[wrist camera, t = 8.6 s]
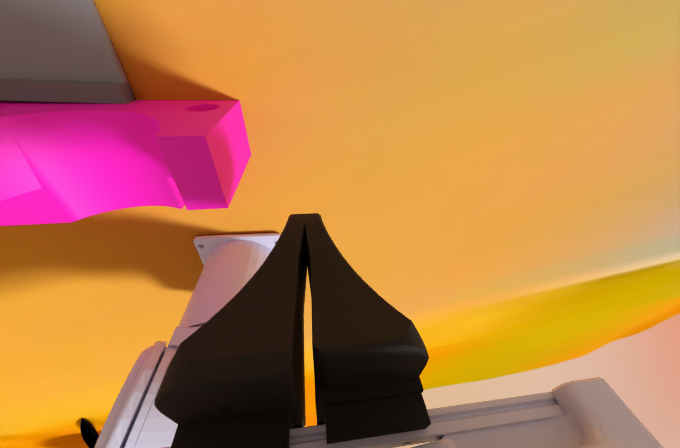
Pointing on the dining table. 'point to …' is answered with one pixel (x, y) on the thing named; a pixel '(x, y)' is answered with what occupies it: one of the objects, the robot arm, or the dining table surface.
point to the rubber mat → (58, 54)
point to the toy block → (117, 157)
